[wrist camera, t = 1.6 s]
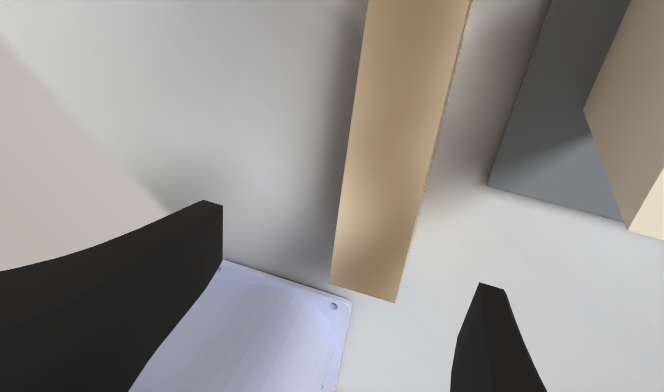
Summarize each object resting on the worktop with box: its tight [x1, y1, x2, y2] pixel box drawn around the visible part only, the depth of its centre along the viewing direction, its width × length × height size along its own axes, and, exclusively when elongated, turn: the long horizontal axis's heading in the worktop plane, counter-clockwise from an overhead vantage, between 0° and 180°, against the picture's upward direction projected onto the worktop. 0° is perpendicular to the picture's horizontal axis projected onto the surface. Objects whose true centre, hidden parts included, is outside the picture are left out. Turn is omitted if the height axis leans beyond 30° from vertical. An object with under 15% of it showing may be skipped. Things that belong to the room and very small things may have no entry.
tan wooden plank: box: [329, 0, 473, 303], centre depth 18 cm, size 3×16×4 cm, turn 173°
